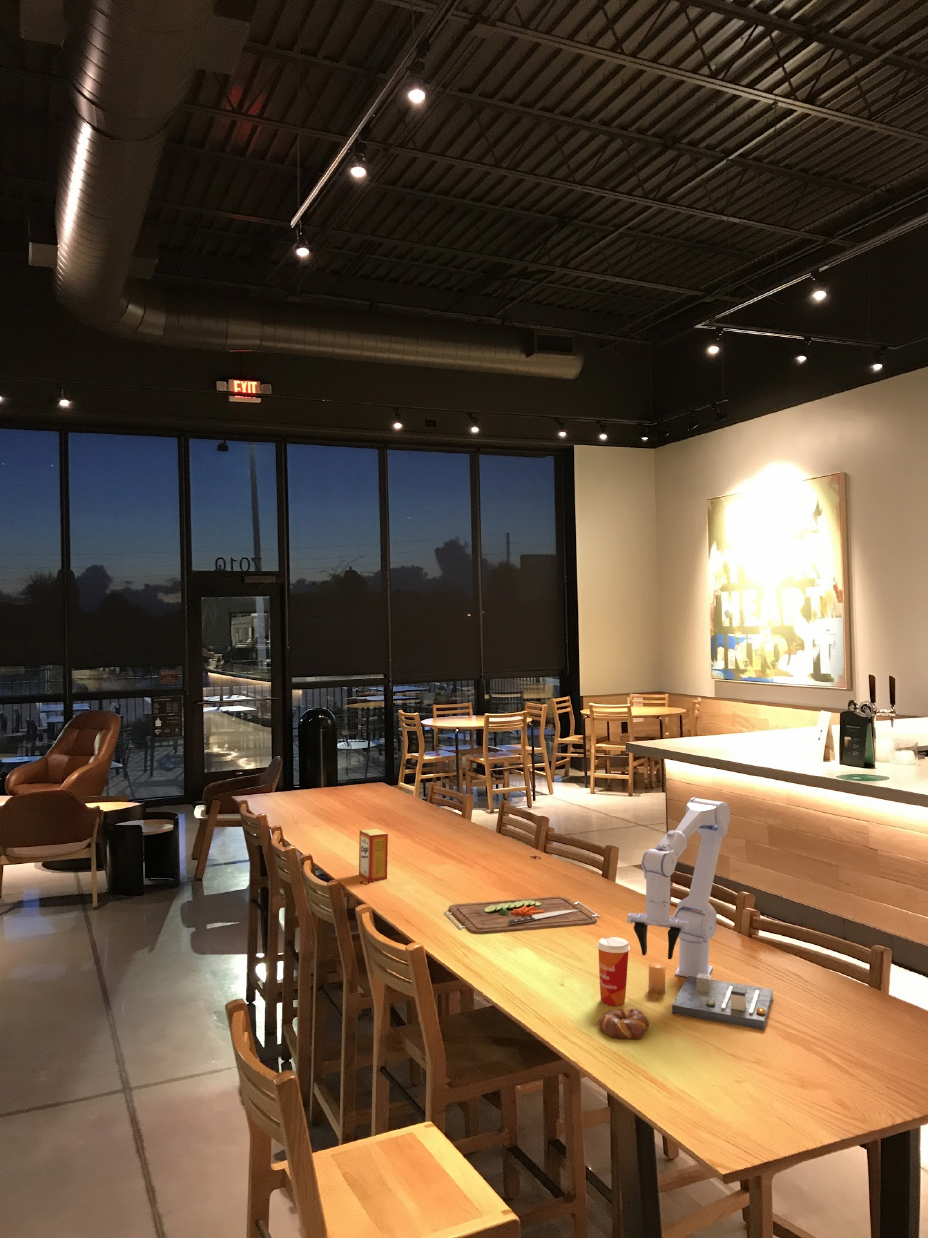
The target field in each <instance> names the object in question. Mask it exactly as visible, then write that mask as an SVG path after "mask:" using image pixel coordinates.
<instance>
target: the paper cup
mask: <svg viewBox="0 0 928 1238" xmlns="http://www.w3.org/2000/svg"><path fill="white" fill-rule="evenodd" d="M596 948H597V949H598V970H599V972H598V973H599V991H600V992H599V993H600V1001H601V1004H604V1005H605V1006H609V1007H610V1006H611V1007H619V1006H624V1004H625V1001H626V992H627V981H628V967H629V966H628V963H629V952H630V949H631V947H630V944H629V942H628V941H627V940H626V939H625V938H621V937H616V936H615V937H614V936H611V937H604V938H603V937H601V938H600V939H599V940H598V943H597V945H596Z"/></svg>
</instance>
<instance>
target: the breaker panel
mask: <svg viewBox="0 0 928 1238" xmlns="http://www.w3.org/2000/svg"><path fill="white" fill-rule="evenodd" d="M733 986H735V987H741V988H746V1008H745V1011H742V1010H736V1009H731V990H732V987H733ZM773 992H774V989H773V988H769V987H768V988H767V987H762V986H761V987H760V986H755V985H747V984H743V983H742V984H741V983H736V982H730V981H723V980H717V979H713V978H712V974H710V975H708V974H701V973H698V975H697V977H693V976H687V977H686V978H685V980H684V982H683V984H682V986H681V988H680V990H679V992H678V993H677V995H676V997H675V999H674V1001H673V1002H672V1004H671V1006H672V1007H671V1014H672V1015H676V1016H677V1015H678V1016H684V1017H689V1018H695V1019H698V1020H704V1021H705V1020H706V1021H711V1022H715V1023H716V1022H717V1023H723V1024H728V1025H733V1026H740V1027H745V1028H750V1029H757V1030H760V1031H764V1030H765V1027H766V1024H767V1020H768V1016H769V1013H770V1008H771V1005H772V1002H773V997H774V995H773Z"/></svg>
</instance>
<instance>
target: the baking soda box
mask: <svg viewBox="0 0 928 1238" xmlns="http://www.w3.org/2000/svg"><path fill="white" fill-rule="evenodd" d="M388 836H389V834H388V833H387V832H385V831H382V830H380V829H378V828H372V829H371V828H369V829H361V830H360V829H359V838H358V839H359V844H358V845H359V847H358V849H359V850H358V853H359V854H358V856H359V857H358V875H359V876H360V877H362V878H364V879H365V880H366V881H369V882H374V881H382V880H383V881H384V880H388V849H389V848H388V843H389V839H388V838H389V837H388Z"/></svg>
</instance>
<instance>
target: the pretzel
mask: <svg viewBox="0 0 928 1238" xmlns="http://www.w3.org/2000/svg"><path fill="white" fill-rule="evenodd" d="M598 1026H599V1029H600V1030H601V1031H602V1032H603V1033H604V1034H606V1035H607V1036H609V1037H611V1038H614V1039H617V1040H619V1039H620V1040H625V1039H626V1040H628V1039H632V1040H639V1039H642V1038H643V1037H644V1036H645V1034H646V1030H648V1029H649V1028H650V1027H649V1026H650V1021H649V1019H648V1018H647V1016H645V1015H644V1013H643V1012H642V1011H641V1010H639V1009H637V1008H630V1009H629V1010H627V1009H623V1008H618V1009H615V1010H613V1009H611V1010H606V1011H605V1012H603V1013H602V1015H601V1016H600V1019H599V1020H598Z"/></svg>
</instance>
